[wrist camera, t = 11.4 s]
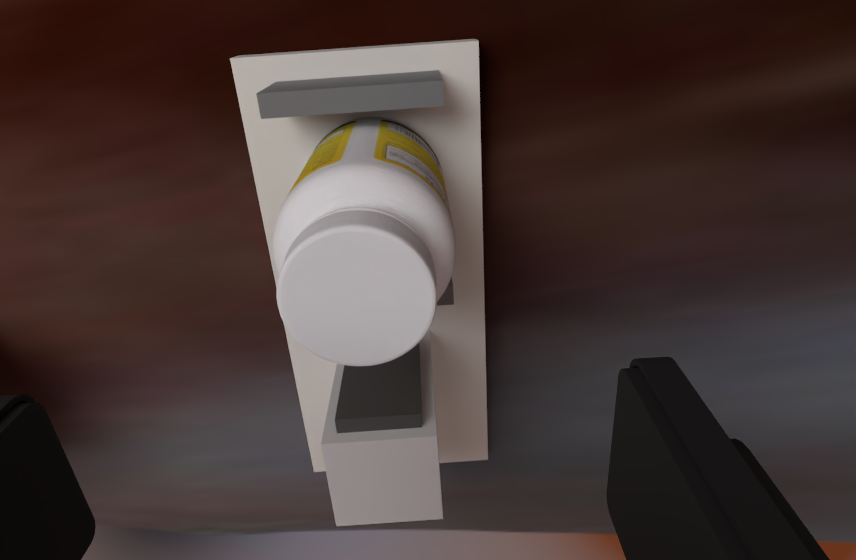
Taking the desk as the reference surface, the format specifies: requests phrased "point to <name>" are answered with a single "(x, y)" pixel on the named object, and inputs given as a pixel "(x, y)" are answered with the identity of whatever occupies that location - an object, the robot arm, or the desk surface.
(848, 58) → the desk surface
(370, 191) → the supplement bottle
